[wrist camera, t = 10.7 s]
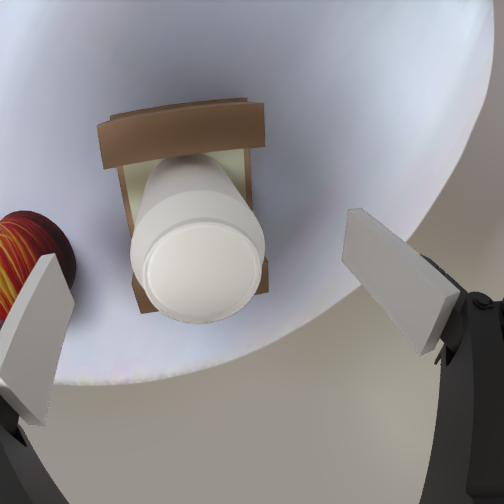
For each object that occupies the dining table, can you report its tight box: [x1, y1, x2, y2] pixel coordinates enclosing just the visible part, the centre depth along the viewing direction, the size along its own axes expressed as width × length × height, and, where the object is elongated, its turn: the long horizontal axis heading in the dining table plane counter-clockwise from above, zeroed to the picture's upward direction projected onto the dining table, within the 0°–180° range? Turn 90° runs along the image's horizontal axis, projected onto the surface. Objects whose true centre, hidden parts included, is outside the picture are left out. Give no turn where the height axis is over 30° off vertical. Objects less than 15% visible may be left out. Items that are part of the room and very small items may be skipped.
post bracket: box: [97, 98, 269, 314], centre depth 20 cm, size 13×10×7 cm
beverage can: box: [130, 153, 265, 324], centre depth 17 cm, size 6×6×12 cm
